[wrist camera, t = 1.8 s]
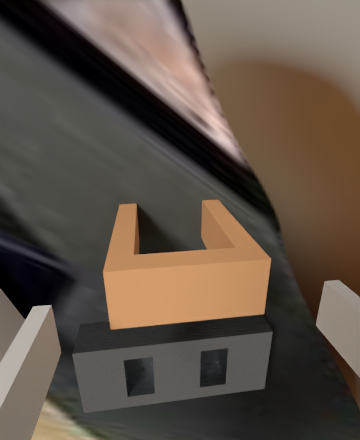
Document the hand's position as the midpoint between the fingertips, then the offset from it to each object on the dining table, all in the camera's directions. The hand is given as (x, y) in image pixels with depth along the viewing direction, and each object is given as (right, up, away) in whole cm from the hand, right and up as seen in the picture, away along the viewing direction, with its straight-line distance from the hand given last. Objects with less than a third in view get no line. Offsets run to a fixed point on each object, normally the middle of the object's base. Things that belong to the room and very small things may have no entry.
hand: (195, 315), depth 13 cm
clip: (-2, +4, +11) cm, 12 cm away
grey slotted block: (-1, -9, +16) cm, 18 cm away
